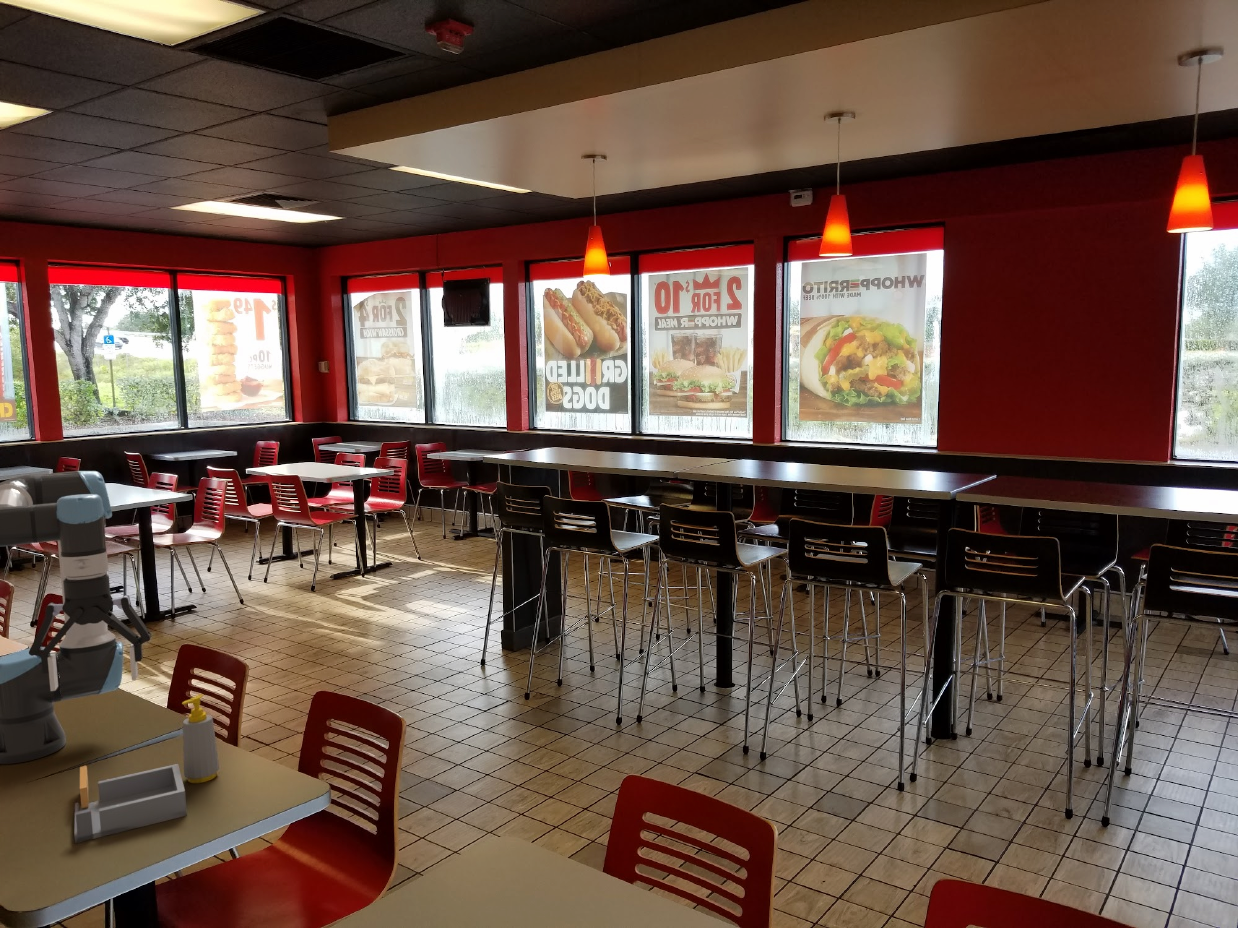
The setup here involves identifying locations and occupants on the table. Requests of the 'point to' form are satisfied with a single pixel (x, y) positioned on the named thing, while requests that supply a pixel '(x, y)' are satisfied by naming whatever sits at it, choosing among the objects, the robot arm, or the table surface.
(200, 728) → the soap bottle
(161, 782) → the box
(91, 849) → the table surface
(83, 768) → the orange long flat block
